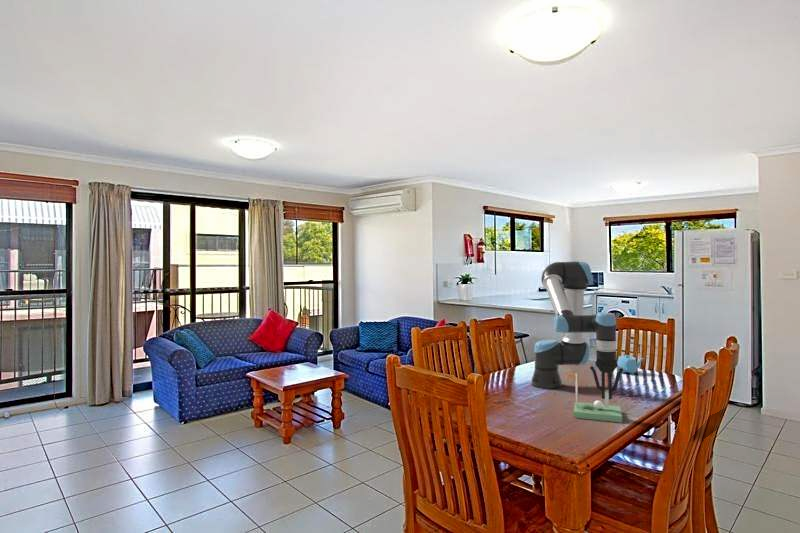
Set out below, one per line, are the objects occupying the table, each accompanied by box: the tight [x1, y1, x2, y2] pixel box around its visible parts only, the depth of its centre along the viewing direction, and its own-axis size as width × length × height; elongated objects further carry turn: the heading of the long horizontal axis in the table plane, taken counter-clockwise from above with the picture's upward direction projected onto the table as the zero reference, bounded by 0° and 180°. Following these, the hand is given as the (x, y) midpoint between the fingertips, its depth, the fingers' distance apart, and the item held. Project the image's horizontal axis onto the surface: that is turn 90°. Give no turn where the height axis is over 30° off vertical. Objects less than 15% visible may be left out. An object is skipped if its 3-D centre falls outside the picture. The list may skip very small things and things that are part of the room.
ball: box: [593, 399, 604, 409], centre depth 194 cm, size 4×4×4 cm
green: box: [567, 372, 623, 423], centre depth 195 cm, size 21×14×16 cm
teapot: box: [617, 354, 645, 375], centre depth 268 cm, size 18×14×10 cm
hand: (606, 406), depth 193 cm, fingers closed
